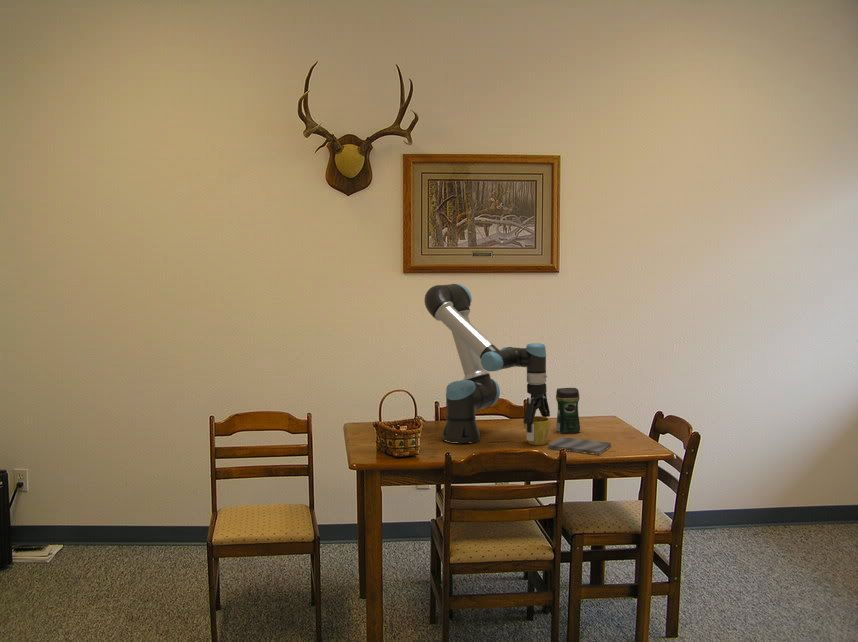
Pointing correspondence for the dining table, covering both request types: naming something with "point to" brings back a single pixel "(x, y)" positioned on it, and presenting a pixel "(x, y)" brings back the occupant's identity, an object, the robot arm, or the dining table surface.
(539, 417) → the plant pot
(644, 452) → the dining table surface
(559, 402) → the coffee jar
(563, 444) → the trivet board
